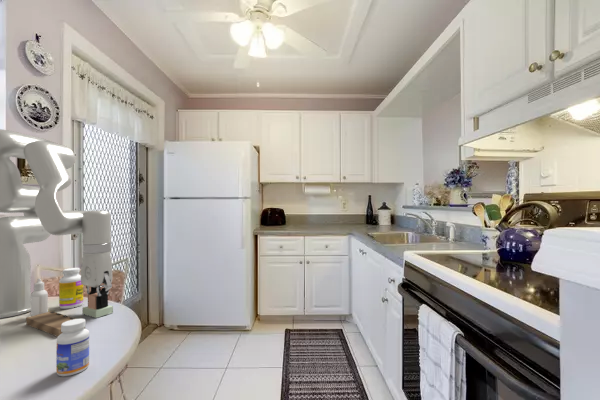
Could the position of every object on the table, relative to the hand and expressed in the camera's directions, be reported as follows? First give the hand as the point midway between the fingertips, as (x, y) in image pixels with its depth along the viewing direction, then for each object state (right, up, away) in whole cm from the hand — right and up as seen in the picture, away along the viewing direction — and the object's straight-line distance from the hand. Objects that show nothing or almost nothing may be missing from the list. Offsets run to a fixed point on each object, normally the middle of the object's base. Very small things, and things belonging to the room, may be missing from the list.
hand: (97, 306), depth 95 cm
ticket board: (-5, -2, -10) cm, 12 cm away
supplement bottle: (-15, -3, +8) cm, 17 cm away
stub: (0, -2, 0) cm, 2 cm away
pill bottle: (+18, -1, -34) cm, 38 cm away
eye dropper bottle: (-17, -3, -2) cm, 17 cm away
